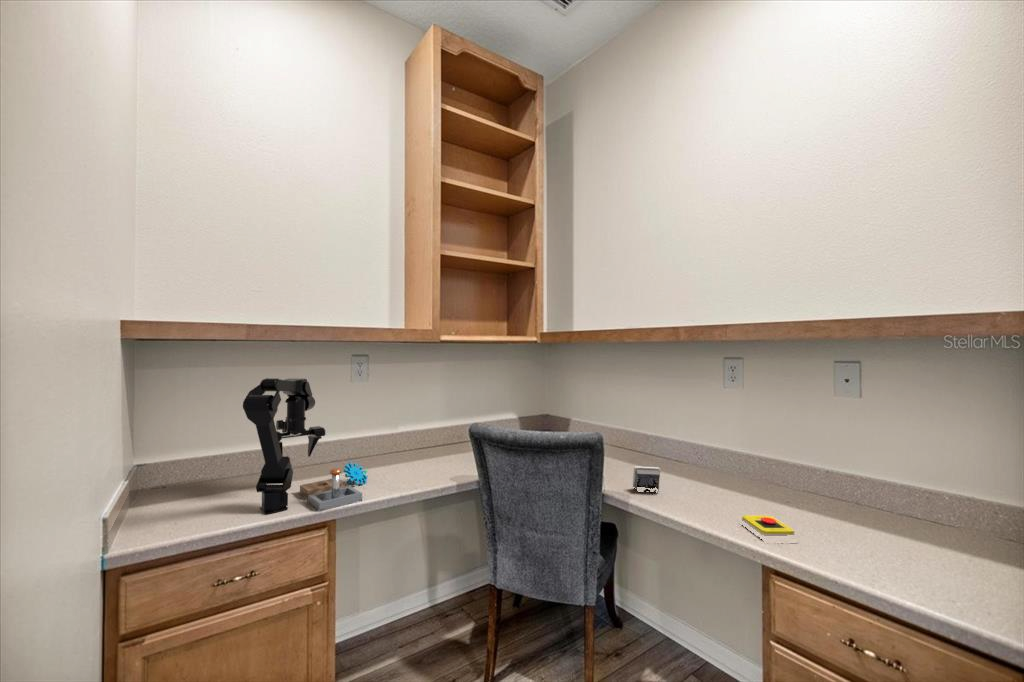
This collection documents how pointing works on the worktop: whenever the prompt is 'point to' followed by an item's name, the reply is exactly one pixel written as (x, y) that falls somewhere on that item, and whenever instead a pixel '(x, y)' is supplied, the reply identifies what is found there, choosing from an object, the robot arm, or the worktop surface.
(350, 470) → the gear
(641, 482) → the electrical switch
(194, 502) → the worktop surface
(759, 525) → the emergency button
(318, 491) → the wooden block
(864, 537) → the worktop surface
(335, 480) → the pin
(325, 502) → the tray
